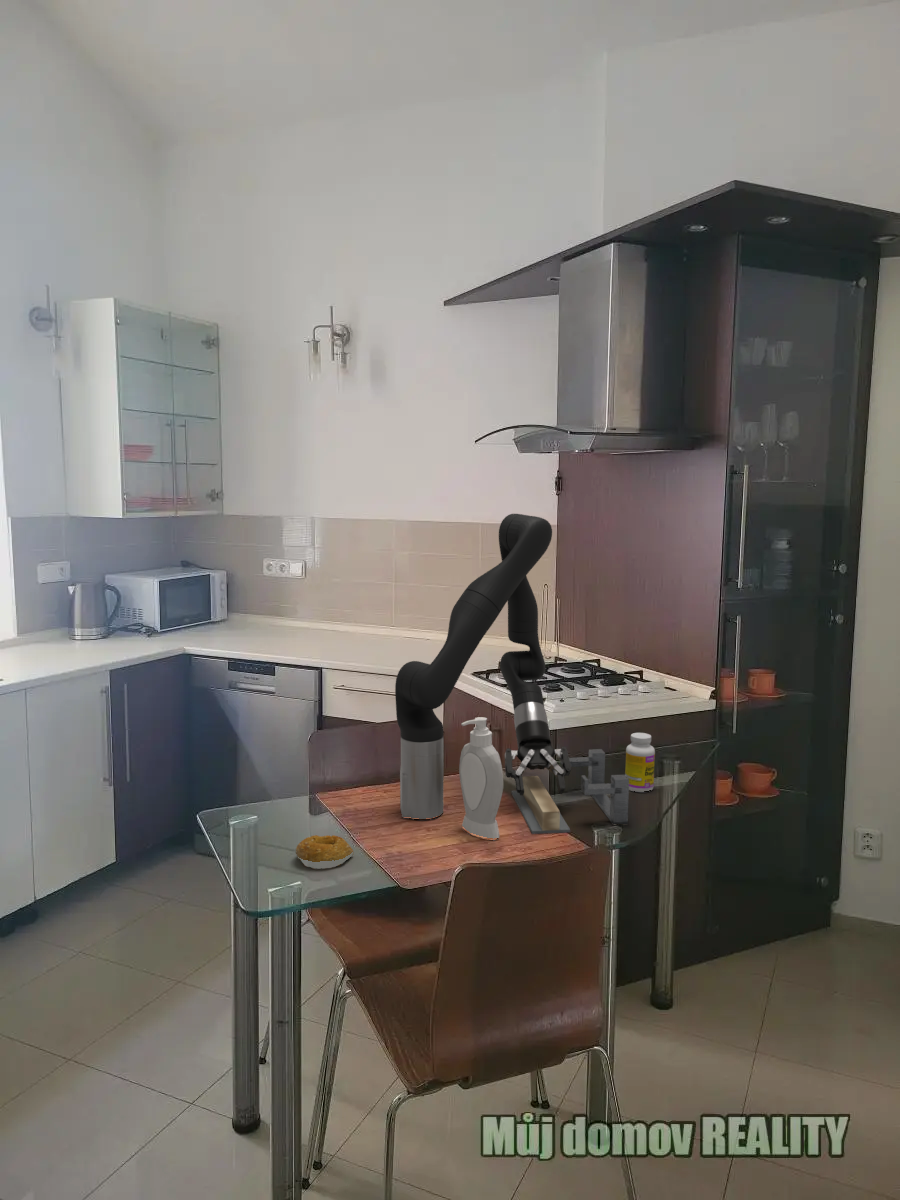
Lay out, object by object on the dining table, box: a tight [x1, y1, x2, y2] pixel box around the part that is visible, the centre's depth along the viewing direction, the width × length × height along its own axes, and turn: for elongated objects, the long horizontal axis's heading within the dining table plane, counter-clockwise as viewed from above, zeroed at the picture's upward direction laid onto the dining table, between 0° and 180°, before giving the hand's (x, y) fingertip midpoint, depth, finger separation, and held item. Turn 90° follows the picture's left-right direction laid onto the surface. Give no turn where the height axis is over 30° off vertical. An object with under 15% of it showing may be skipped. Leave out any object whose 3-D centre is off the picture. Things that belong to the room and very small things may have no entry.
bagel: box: [295, 834, 354, 862], centre depth 176 cm, size 10×11×5 cm
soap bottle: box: [458, 716, 504, 839], centre depth 186 cm, size 13×8×24 cm, turn 41°
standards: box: [560, 748, 630, 825], centre depth 202 cm, size 10×21×10 cm, turn 6°
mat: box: [510, 790, 571, 835], centre depth 201 cm, size 8×24×1 cm, turn 6°
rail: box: [522, 775, 561, 831], centre depth 199 cm, size 4×22×4 cm, turn 6°
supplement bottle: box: [624, 732, 656, 793], centre depth 214 cm, size 7×7×13 cm
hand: (541, 793), depth 198 cm, fingers open, 8 cm apart
